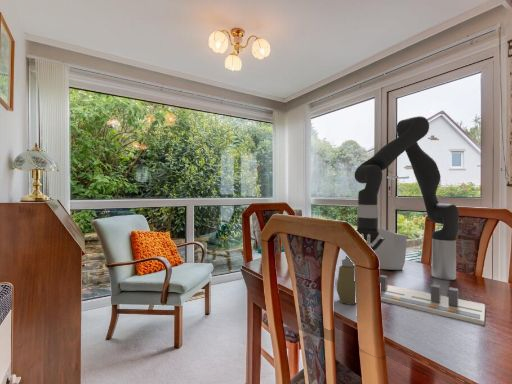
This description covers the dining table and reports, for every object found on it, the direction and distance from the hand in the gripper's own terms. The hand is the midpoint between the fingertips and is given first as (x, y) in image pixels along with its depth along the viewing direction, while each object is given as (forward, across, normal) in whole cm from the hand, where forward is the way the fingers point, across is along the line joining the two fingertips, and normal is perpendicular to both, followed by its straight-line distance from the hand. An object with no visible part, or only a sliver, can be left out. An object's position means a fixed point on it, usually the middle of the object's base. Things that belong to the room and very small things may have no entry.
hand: (366, 260), depth 112 cm
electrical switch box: (+12, +3, -43) cm, 45 cm away
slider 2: (+10, -28, 0) cm, 30 cm away
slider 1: (+10, -6, 0) cm, 12 cm away
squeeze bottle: (+12, +1, +16) cm, 20 cm away
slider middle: (+10, -23, 0) cm, 25 cm away
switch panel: (+12, -20, 0) cm, 23 cm away
